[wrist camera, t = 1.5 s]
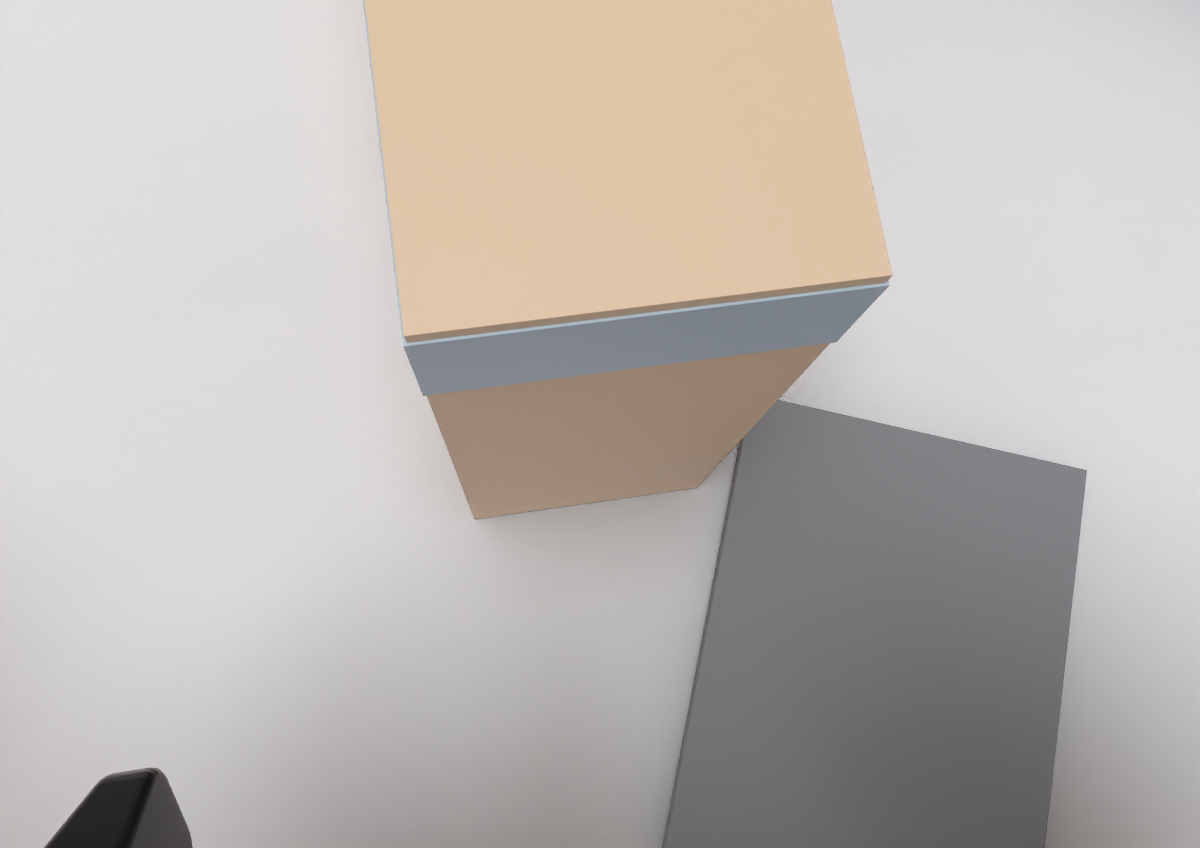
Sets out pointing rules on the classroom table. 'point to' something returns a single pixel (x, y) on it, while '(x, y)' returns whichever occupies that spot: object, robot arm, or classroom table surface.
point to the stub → (616, 229)
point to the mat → (879, 643)
